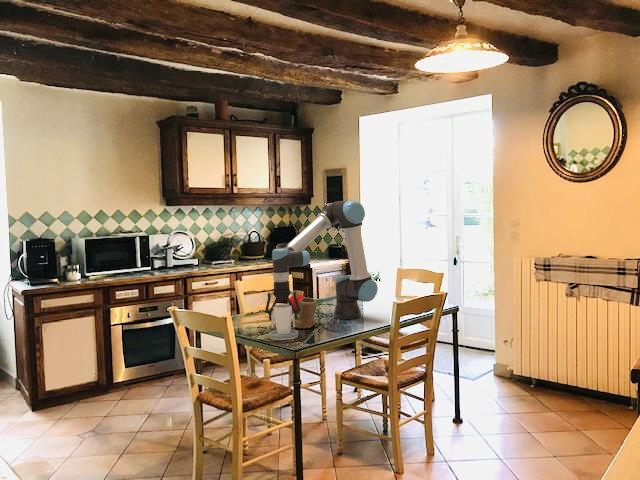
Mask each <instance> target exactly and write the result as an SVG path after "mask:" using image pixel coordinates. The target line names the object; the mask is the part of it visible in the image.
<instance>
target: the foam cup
mask: <svg viewBox="0 0 640 480" xmlns="http://www.w3.org/2000/svg"><path fill="white" fill-rule="evenodd" d="M272 313H273V319H274V323H275V327H276V330H277V333H278V334H288V333H290V331H291V329H292V320H293V311H292V306H290V305H289V303H282V304H276V305H275V307H273V311H272Z"/></svg>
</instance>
